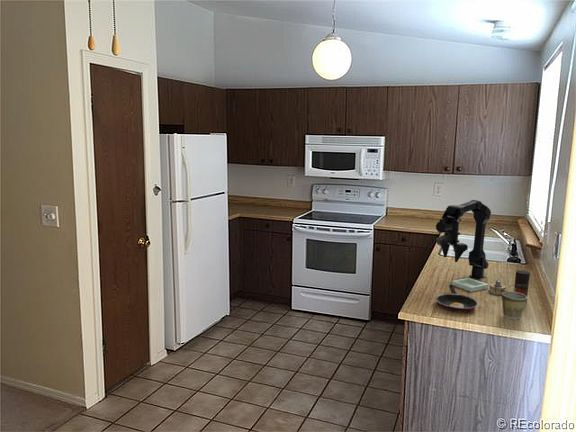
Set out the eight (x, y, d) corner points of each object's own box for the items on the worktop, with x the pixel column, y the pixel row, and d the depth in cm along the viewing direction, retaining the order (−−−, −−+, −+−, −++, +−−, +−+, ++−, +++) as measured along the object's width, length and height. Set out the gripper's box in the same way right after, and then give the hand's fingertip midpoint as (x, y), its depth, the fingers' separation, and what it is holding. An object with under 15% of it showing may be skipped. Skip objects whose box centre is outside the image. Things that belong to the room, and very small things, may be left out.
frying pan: (436, 312, 212) (437, 304, 211) (431, 289, 243) (431, 282, 242) (481, 316, 208) (482, 308, 208) (469, 292, 239) (470, 285, 238)
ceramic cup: (517, 323, 201) (519, 300, 199) (495, 315, 209) (497, 294, 207) (532, 316, 209) (535, 294, 207) (510, 309, 217) (513, 288, 215)
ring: (495, 288, 244) (496, 282, 243) (511, 294, 236) (511, 287, 236) (486, 290, 240) (487, 284, 240) (501, 296, 233) (502, 290, 232)
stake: (495, 288, 245) (496, 277, 244) (509, 293, 238) (511, 282, 236) (484, 291, 241) (485, 280, 240) (498, 296, 234) (500, 284, 232)
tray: (468, 282, 255) (468, 277, 254) (487, 289, 244) (488, 284, 244) (451, 285, 249) (452, 280, 249) (471, 292, 238) (471, 287, 238)
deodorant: (509, 300, 228) (513, 270, 225) (519, 299, 230) (522, 269, 227) (519, 305, 222) (523, 274, 220) (529, 303, 224) (532, 273, 222)
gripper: (428, 227, 250) (426, 256, 253) (450, 235, 232) (448, 265, 235) (446, 226, 253) (444, 254, 256) (469, 233, 236) (467, 264, 239)
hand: (450, 259), depth 246 cm, fingers open, 9 cm apart
